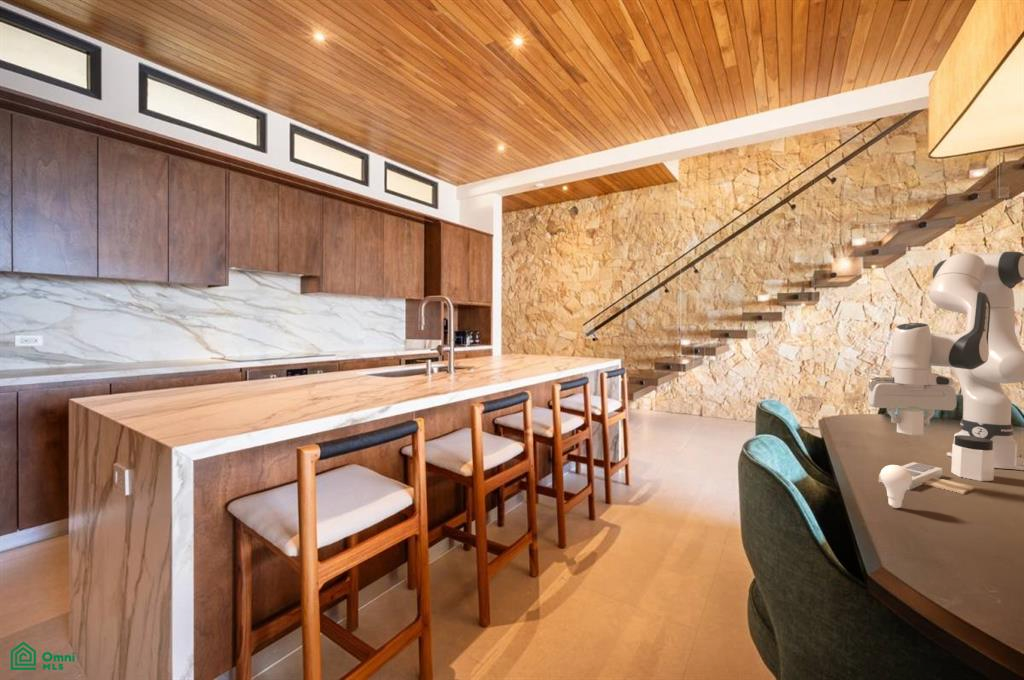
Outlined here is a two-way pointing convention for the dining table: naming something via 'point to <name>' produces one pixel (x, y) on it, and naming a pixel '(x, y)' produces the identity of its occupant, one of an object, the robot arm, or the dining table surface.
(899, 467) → the lightbulb
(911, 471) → the power strip
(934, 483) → the coaster
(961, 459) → the jar
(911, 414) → the block
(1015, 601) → the dining table surface
